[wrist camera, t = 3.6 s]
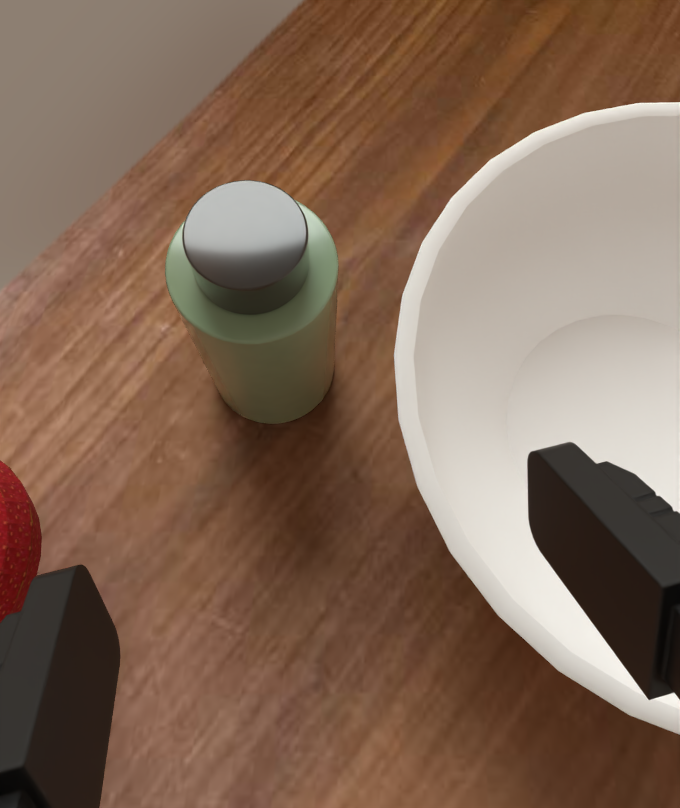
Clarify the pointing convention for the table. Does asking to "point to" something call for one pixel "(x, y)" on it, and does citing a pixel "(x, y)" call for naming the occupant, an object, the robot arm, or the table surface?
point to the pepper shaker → (258, 298)
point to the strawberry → (16, 542)
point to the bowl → (548, 359)
